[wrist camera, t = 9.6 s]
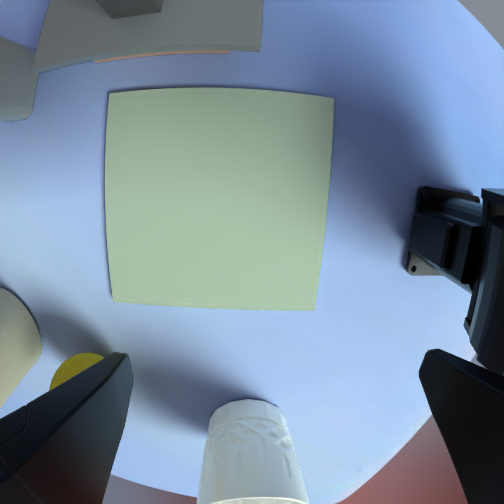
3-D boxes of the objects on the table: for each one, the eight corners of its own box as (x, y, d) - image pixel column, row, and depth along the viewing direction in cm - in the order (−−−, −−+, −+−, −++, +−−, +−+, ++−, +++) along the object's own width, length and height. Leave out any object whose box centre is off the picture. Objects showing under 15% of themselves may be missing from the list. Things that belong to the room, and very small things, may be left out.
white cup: (186, 409, 23) (171, 506, 14) (270, 380, 22) (287, 486, 13) (229, 454, 25) (230, 537, 16) (303, 431, 25) (323, 518, 15)
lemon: (65, 338, 21) (18, 399, 13) (117, 329, 21) (75, 399, 13) (94, 389, 22) (63, 453, 15) (146, 384, 22) (122, 458, 15)
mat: (332, 99, 17) (334, 98, 16) (313, 307, 21) (314, 310, 20) (111, 94, 16) (109, 93, 15) (115, 299, 20) (113, 301, 19)
